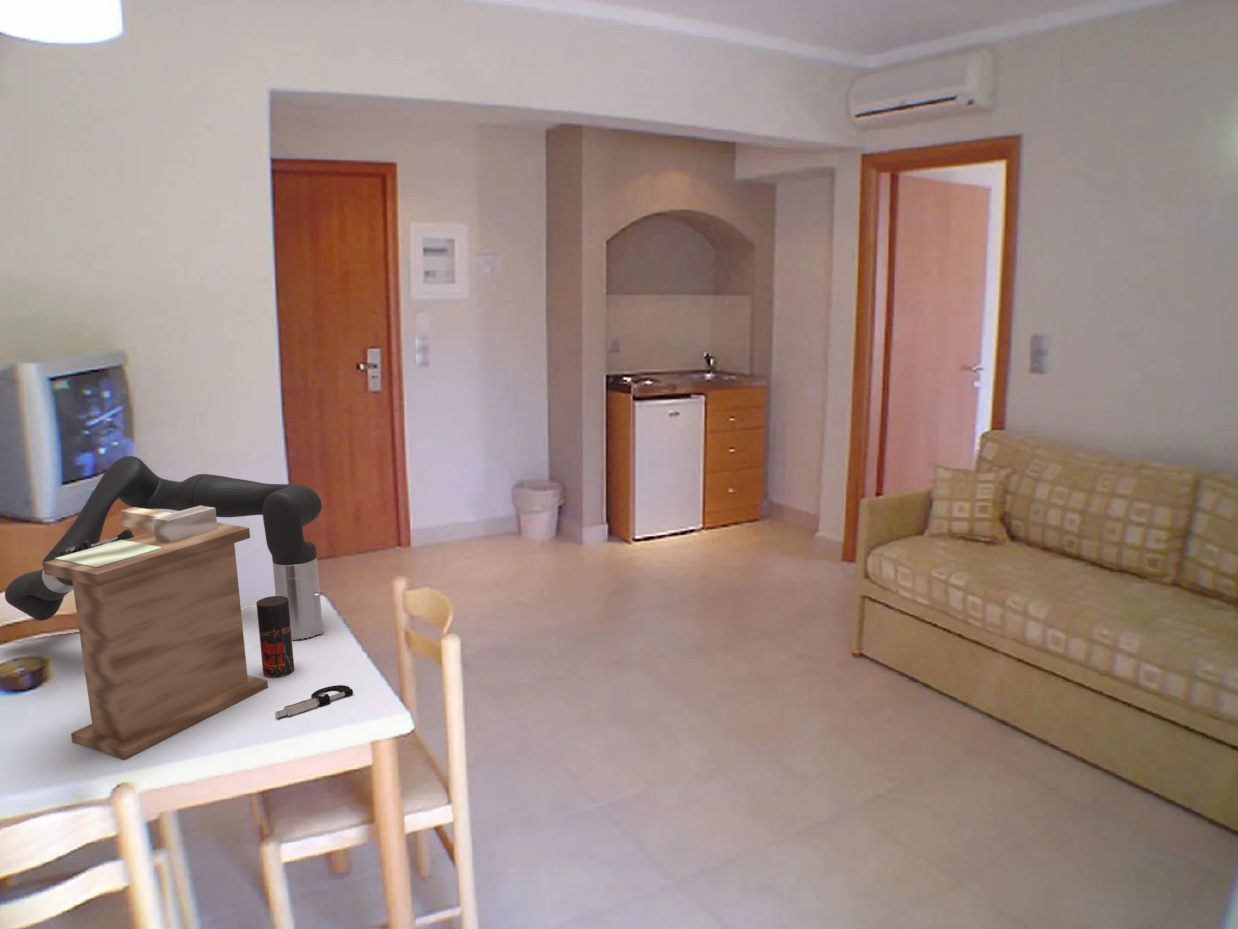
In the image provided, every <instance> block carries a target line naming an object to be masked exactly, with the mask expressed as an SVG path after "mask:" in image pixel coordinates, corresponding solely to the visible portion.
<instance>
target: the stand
mask: <svg viewBox="0 0 1238 929" xmlns="http://www.w3.org/2000/svg"><path fill="white" fill-rule="evenodd" d="M248 539H251V531H250V527H247V526H240V525H234V524H228V523H222V522H217V529H214V530H211V531H207V532H204V533H201V534H197V535H194V536H191V537H187V538H184V539H181V540H177V541H174V542H171V543H170V542H165V541H159V540H155V532H153V531H150V532H149V533H145V534H141V535H136V536H134V537H133V538H130V539H126V540H118V541H114V542H111V543H108V544H106V543H105V544H103V545H100V546H97V547H93V548H90V549H86V550H82V551H79V552H75V553H72V554H68V555H64V556H61V557H57V558H55V559H54V560H51V561H47V562H44V563H43V565H42V567H43V566H44V567H43V568H44V573H45V574H46V575H50V576H55V577H59V578H64V579H68V580H72V581H73V589H74V590H73V596H74V601H75V602H74V603H75V610H76V615H77V617H76V618H77V624H78V632H79V639H80V645H81V653H82V660H83V661H82V662H83V667H84V674H85V675H84V676H85V682H86V683H85V684H86V689H87V696H88V704H89V712H90V717H91V723H90V724H88V725H86V726H83V727H82V728H79V729H77V730H75V731H72V732H71V733H70V736H71V742H73V743H77V744H79V745H82V746H84V747H87V748H90V749H93V750H96V751H99V752H101V753H104V754H108V755H111V756H113V757H116V758H118V759H122V760H123V761H126V760H128V759H129V758H132V757H133V756H136V755H138V754H139V753H141V752H144V751H145V750H147V749H149V748H151V747H153V746H156V745H157V744H160V743H161V742H163V741H166V740H168V739H169V738H171V737H173V736H175V735H177V734H178V733H181V732H183V731H185V730H187V729H189V728H191V727H192V726H194V725H197V724H198V723H200V722H202V721H205V720H207V719H208V718H211V717H212V716H214V715H217V714H218V713H220V712H222V711H224V710H227V709H228V708H230V707H232V706H234V705H236V704H239V703H240V702H242V701H244V700H246V699H248V698H250V697H252V696H254V695H256V694H257V693H261V692H262V691H263V690H265V689H267V688H269V684H268V680H267V679H264V678H261V677H257V676H252V675H249V674H248V668H247V659H246V657H247V656H246V649H245V648H246V647H245V639H244V637H245V636H244V628H243V618H242V608H241V597H240V596H241V595H240V586H239V578H238V565H237V557H236V548H235V547H236V546H235V544H236V543H239V542H242V541H245V540H248Z"/></svg>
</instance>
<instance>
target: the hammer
mask: <svg viewBox="0 0 1238 929" xmlns="http://www.w3.org/2000/svg"><path fill="white" fill-rule="evenodd" d="M119 511H120V520H121V527H124V528H125V527H126V528H129V529H131V528H132V529H137V530H142V531H146V532H147V531H149V532H155V540H159V541H165V542H170V543H171V542H174V541H177V540H181V539H184V538H187V537H191V536H194V535H197V534H201V533H204V532H207V531H211V530H214V529H217V523H218V520H217V517H216V509H215V508H213V507H207V506H197V507H193V508H189V509H186V510H182V511H175V512H167V511H162V510H157V509H143V508H137V507H129V508H126V509H121V510H119Z"/></svg>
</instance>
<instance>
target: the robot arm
mask: <svg viewBox="0 0 1238 929" xmlns="http://www.w3.org/2000/svg"><path fill="white" fill-rule="evenodd" d="M90 494H91V495H89V497H88V499H87V500H86V502H85V504H84V506H83V507H82V508H81V511H80V512H79V514H78V515H77V517H76V519H75V520H74V521H73V523H72V524H71V526H70V527H69V529H67V530H66V532H65V533H64V535H63V536H62V537H61V538H60V539H59V541H58V542H56V544H55V545H54V546H53V547H52V549H51V550H50V551H49V552H48V553H47V555H45V557H44V558H43V559H42V562H41V565H42V567H43V568H42V569H39V570H35V571H30V572H27V573H24V574H22V575H19V576H17V577H16V578H14V579H12V581H11V582H10V583H9V584H8V585H7V587H5V590H4V598H5V601H6V602H7V604H9V605H10V606H12V607H13V608H16V609H17V610H19V611H20V612H22V613H24V614H26V615H28V616H29V617H31V618H32V619H34V620H36V621H38V622H39V621H46V620H47V621H48V620H49V619H51V618H53V617H54V616H55V615H56V614H57V612H58V611H59V609H60V607H61V605H62V603H63V600H64V598H65V596H66V595H68V594H69V593H71V592H72V591H74V589H73V581H72V580H68V579H64V578H59V577H55V576H50V575H46V574H45V573H44V566H43V563H44V562H47V561H51V560H54V559H55V558H57V557H61V556H64V555H68V554H72V553H75V552H79V551H82V550H86V549H90V548H93V547H97V546H100V545H104V544H108V543H111V542H115V541H118V540H126V539H130V538H133V537H135V536H134V534H133V532H132V530H131V528H127V529H124V530H123V531H122V532H121V533H119V534H118V535H116V536H114V537H112V538H105V539H103V540H101V537H102V533H103V529H104V526H105V522H106V519H107V516H108V514H109V512H110V510H111V508H112V506H113V505H114V504H115V502H116V501H117V500H118V499H119V500H120V501H121V502H122V503H123V504H124V505H126V506H129V508H133V507H137V508H143V509H150V510H171V511H175V512H178V511H182V510H186V509H189V508H193V507H197V506H207V507H213V508H215V509H216V518H240V517H250V516H262V520H263V527H264V528H263V529H264V533H265V534H264V535H265V541H266V546H267V549H268V551H269V553H270V555H271V559H272V571H273V584H274V592H275V593H274V594H275V595H274V596H284V597H287V598H288V602H289V614H290V625H291V637H292V641H298V639H302V640H304V639H303V638H307V639H310V638H309V637H311V638H313V636H314V637H316V636H315V635H317V636H320V635H319V634H322V633H323V627H322V625H323V615H322V613H323V612H322V601H321V590H320V589H321V588H320V583H319V582H320V581H319V570H318V569H319V568H318V557H317V556H318V555H317V547H316V545H315V544H314V543H313V542H312V541H305V538H304V533H303V531H304V530H303V527H305V526H307V525H309V524H310V523H312V522H313V521H315V520H316V519H317V518H318V517H319V515H320V513H321V510H322V505H323V504H322V500H321V497H319V494H318V493H317V492H316V491H315V490H314V489H312V488H311V487H310V486H306V485H304V484H300V483H299V484H294V483H291V484H290V483H289V484H288V483H279V484H278V483H265V482H259V481H258V482H257V481H254V480H253V481H252V480H247V479H242V478H234V477H233V478H232V477H227V476H223V475H217V474H216V475H215V474H211V473H210V474H209V473H200V474H199V473H198V474H195V475H192V476H190V477H188V478H186V479H184V480H183V481H175V480H170V479H166V478H162V477H160V476H159V475H157V474H156V473H155V472H153V471H152V469H150V467H149V466H147V464H145V462H144V461H143V460H142V459H141V458H139V457H137V456H134V455H128V456H127V455H126V456H123V457H120V458H118V459H117V460H115V461H114V462H113V463H112V464H111V465H110V466H109V467H108V468H107V469H106V471H105V472H104V473H103V475H102V477H101V478H100V480H99V481H98V483H97V485H96V486H95V488H94V490H93V491H92V493H90ZM322 635H323V634H322ZM296 639H297V640H296Z"/></svg>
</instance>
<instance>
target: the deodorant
mask: <svg viewBox="0 0 1238 929" xmlns="http://www.w3.org/2000/svg"><path fill="white" fill-rule="evenodd" d="M256 613H257V623H258V624H257V625H258V633H259V634H258V635H259V643H260V644H259V645H260V653H261V654H260V655H261V664H262V665H261V666H262V675H263V676H264V677H265V678H268V679H275V678H276V679H278V678H283V677H286V676H290V675H291V674H292V673H293V672H294V671H295V663H294V662H295V660H294V651H293V649H294V648H293V640H292V637H291V625H290V614H289V602H288V598H287V597H284V596H276V595H272V596H267V597H263V598H261V599H259V600H257V602H256Z"/></svg>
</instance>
